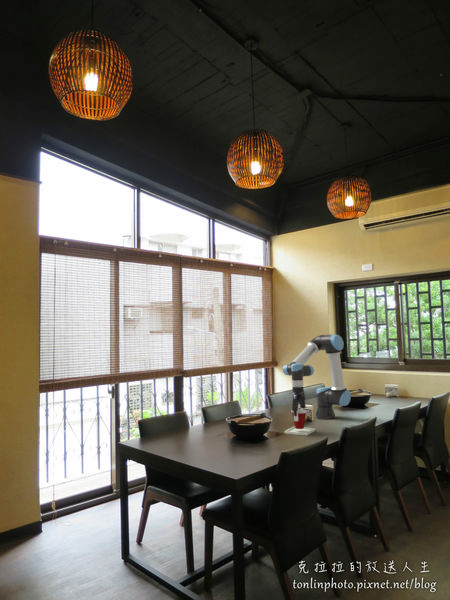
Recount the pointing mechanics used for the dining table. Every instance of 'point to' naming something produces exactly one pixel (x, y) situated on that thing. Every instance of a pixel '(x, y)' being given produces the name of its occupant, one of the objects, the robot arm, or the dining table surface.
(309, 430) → the tray
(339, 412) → the dining table surface
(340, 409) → the dining table surface
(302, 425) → the plastic cup
